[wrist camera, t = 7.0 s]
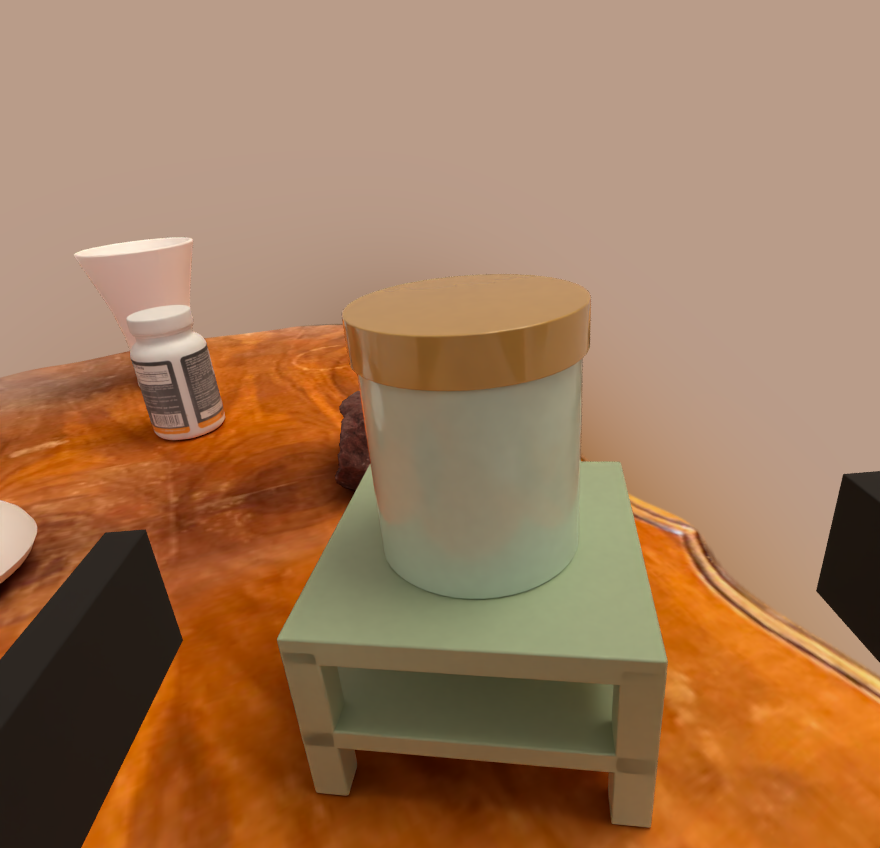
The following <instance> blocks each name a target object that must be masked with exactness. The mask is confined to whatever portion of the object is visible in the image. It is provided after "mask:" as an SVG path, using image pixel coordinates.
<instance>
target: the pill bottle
mask: <svg viewBox="0 0 880 848" xmlns="http://www.w3.org/2000/svg"><path fill="white" fill-rule="evenodd" d="M126 321H127V325H128V328H129V332H130V333H131V334H132V335H133V336H134V337H135V338H136V343H135V344H134V345H133V346H132V348H131V351H130V357H131V361H132V364H133V367H134V370H135V373H136V376H137V379H138V382H139V385H140V389H141V391H142V394H143V398H144V401H145V404H146V407H147V410H148V413H149V417H150V420H151V423H152V426H153V429H154V431H155V433H156V434H157V435H158V436H159V437H161V438H163V439H167V440H183V439H190V438H195V437H198V436H201V435H204V434H206V433H209V432H211V431H213V430H215V429H216V428H218V427H219V426H220V425H221V424H222V423H223V421H224V419H225V413H224V408H223V404H222V401H221V397H220V394H219V390H218V386H217V382H216V378H215V374H214V370H213V366H212V362H211V359H210V355H209V351H208V347H207V343H206V341H205V339H204V338H203V337H202V336H201V335H200V334H198V333H196V332H194V331H193V329H192V326H193V322H194V319H193V316H192V312H191V309H190V307H189V306H186V305H168V306H160V307H155V308H150V309H146V310H142V311H139V312H136V313H133V314H131V315H129V316H128V317H127V318H126Z"/></svg>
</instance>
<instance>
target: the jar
mask: <svg viewBox="0 0 880 848" xmlns="http://www.w3.org/2000/svg"><path fill="white" fill-rule="evenodd" d="M590 315H591V295H590V293H589V291H588V290H586V289H585V288H584V287H582V286H580V285H578V284H576V283H573V282H570V281H566V280H562V279H557V278H551V277H543V276H534V275H518V274H486V275H467V276H454V277H445V278H436V279H429V280H423V281H418V282H411V283H406V284H401V285H397V286H393V287H389V288H385V289H382V290H378V291H376V292H373V293H370V294H367V295H365V296H362V297H360V298H358V299H356V300H354V301H352V302H351V303H350V304H348V305H347V306H346V307H345V308H344V309H343V312H342V321H343V328H344V334H345V341H346V348H347V354H348V361H349V365H350V366H351V368H352V370H353V371H354V372H356V373H357V376H358V383H359V389H360V396H361V403H362V410H363V417H364V423H365V430H366V437H367V444H368V451H369V457H370V464H371V471H372V478H373V485H374V491H375V498H376V505H377V512H378V519H379V525H380V532H381V539H382V546H383V552H384V555H385V557H386V560H387V561H388V563H389V564H390V566H391V567H392V569H393V570H394V571H395V572H396V573H397V574H398V575H399V576H400V577H402V578H403V579H404V580H406V581H407V582H409V583H411V584H412V585H414V586H416V587H418V588H420V589H423V590H425V591H428V592H431V593H434V594H438V595H441V596H447V597H452V598H461V599H490V598H500V597H505V596H511V595H515V594H518V593H522V592H525V591H528V590H531V589H533V588H536V587H538V586H540V585H542V584H544V583H546V582H548V581H550V580H551V579H552V578H554V577H555V576H557V575H558V574H559V573H560V572H561V571H562V570H564V569H565V568H566V567H567V565H568V564H569V563H570V561H571V560H572V559H573V557H574V555H575V553H576V551H577V548H578V545H579V530H580V475H581V420H582V367H583V364H582V363H583V357H584V356H585V355H586V354H587V352H588V350H589V348H590Z"/></svg>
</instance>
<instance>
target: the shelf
mask: <svg viewBox="0 0 880 848" xmlns="http://www.w3.org/2000/svg"><path fill="white" fill-rule="evenodd" d="M277 642H278V646H279V650H280V654H281V658H282V662H283V665H284V669H285V673H286V677H287V681H288V684H289V688H290V692H291V696H292V700H293V704H294V708H295V712H296V716H297V720H298V724H299V727H300V732H301V736H302V740H303V744H304V747H305V751H306V755H307V759H308V763H309V767H310V770H311V774H312V778H313V782H314V786H315V790H316V792H317V793H324V794H334V795H343V796H348V795H349V792H350V789H351V785H352V782H353V779H354V775H355V772H356V769H357V760H356V755H355V750H365V751H376V752H387V753H399V754H410V755H421V756H432V757H444V758H455V759H466V760H477V761H488V762H500V763H511V764H522V765H533V766H544V767H556V768H567V769H578V770H589V771H601V772H609V776H608V795H609V805H610V815H611V822H612V824H618V825H628V826H638V827H647V828H650V827H651V821H652V811H653V802H654V792H655V782H656V773H657V763H658V753H659V743H660V734H661V724H662V714H663V705H664V695H665V685H666V675H667V663H668V661H667V657H666V652H665V648H664V644H663V640H662V635H661V631H660V627H659V623H658V619H657V614H656V610H655V606H654V602H653V597H652V593H651V589H650V585H649V580H648V576H647V572H646V568H645V563H644V559H643V555H642V551H641V546H640V542H639V538H638V534H637V530H636V525H635V521H634V517H633V513H632V508H631V504H630V500H629V496H628V491H627V487H626V483H625V479H624V475H623V470H622V466H621V463H620V462H581V475H580V530H579V545H578V548H577V551H576V553H575V555H574V557H573V559H572V560H571V561H570V563H569V564H568V565H567V567H566V568H565V569H564V570H562V571H561V572H560V573H559V574H558V575H557V576H555V577H554V578H552V579H551V580H550V581H548V582H546V583H544V584H542V585H540V586H538V587H536V588H533V589H531V590H528V591H525V592H522V593H518V594H515V595H511V596H505V597H500V598H490V599H461V598H452V597H447V596H441V595H438V594H434V593H431V592H428V591H425V590H423V589H420V588H418V587H416V586H414V585H412V584H411V583H409V582H407V581H406V580H404V579H403V578H402V577H400V576H399V575H398V574H397V573H396V572H395V571H394V570H393V569H392V567H391V566H390V564H389V563H388V561H387V560H386V557H385V555H384V552H383V546H382V539H381V532H380V525H379V519H378V512H377V505H376V498H375V491H374V485H373V478H372V471H371V464H370V465H369V467H368V469H367V471H366V473H365V474H364V476H363V478H362V480H361V482H360V484H359V486H358V488H357V489H356V491H355V493H354V495H353V497H352V499H351V501H350V503H349V505H348V506H347V508H346V510H345V512H344V514H343V516H342V518H341V520H340V521H339V523H338V525H337V527H336V529H335V531H334V533H333V535H332V536H331V538H330V540H329V542H328V544H327V546H326V548H325V550H324V551H323V553H322V555H321V557H320V559H319V561H318V563H317V565H316V566H315V568H314V570H313V572H312V574H311V576H310V578H309V580H308V581H307V583H306V585H305V587H304V589H303V591H302V593H301V595H300V597H299V598H298V600H297V602H296V604H295V606H294V608H293V610H292V612H291V613H290V615H289V617H288V619H287V621H286V623H285V625H284V627H283V628H282V630H281V632H280V634H279V636H278V638H277Z"/></svg>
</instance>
